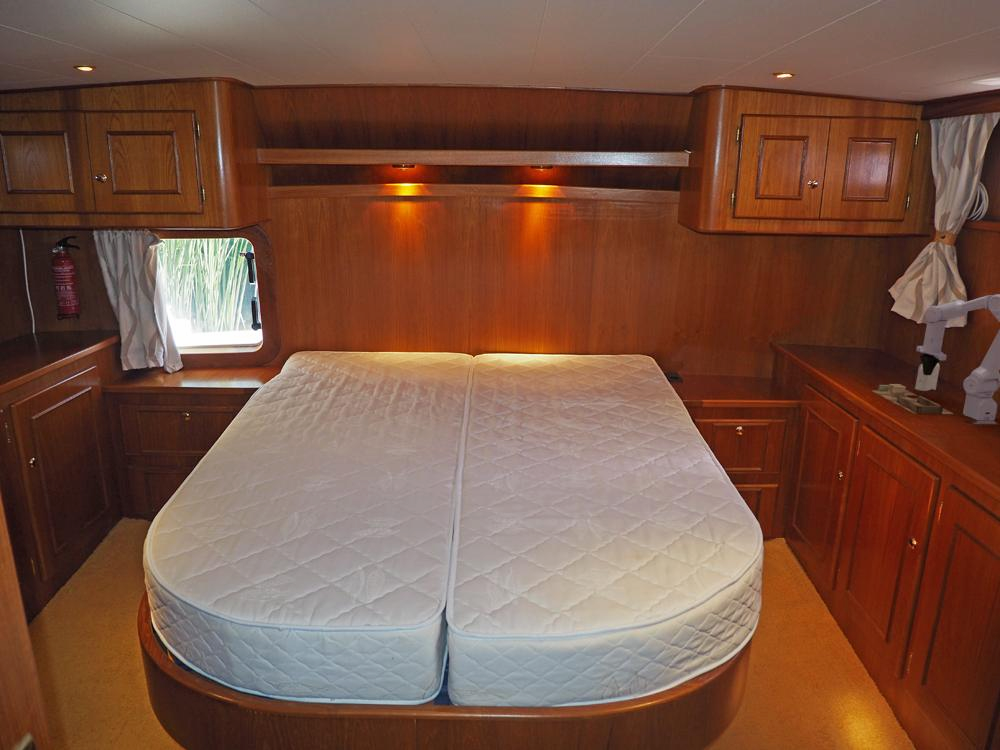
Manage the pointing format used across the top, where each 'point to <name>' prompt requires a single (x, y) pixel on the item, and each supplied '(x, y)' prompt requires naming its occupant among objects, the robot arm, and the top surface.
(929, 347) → the robot arm
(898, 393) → the cube
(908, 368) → the top surface
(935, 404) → the cubby
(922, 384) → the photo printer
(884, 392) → the board
